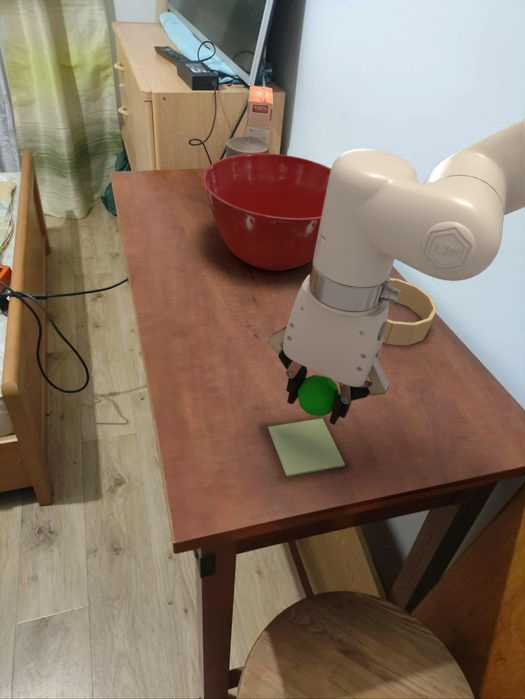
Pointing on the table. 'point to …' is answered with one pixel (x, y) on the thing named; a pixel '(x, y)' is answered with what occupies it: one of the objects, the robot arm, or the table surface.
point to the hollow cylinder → (420, 305)
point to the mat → (305, 447)
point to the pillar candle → (245, 146)
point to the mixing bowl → (268, 207)
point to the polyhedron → (318, 395)
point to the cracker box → (259, 113)
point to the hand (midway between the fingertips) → (315, 405)
